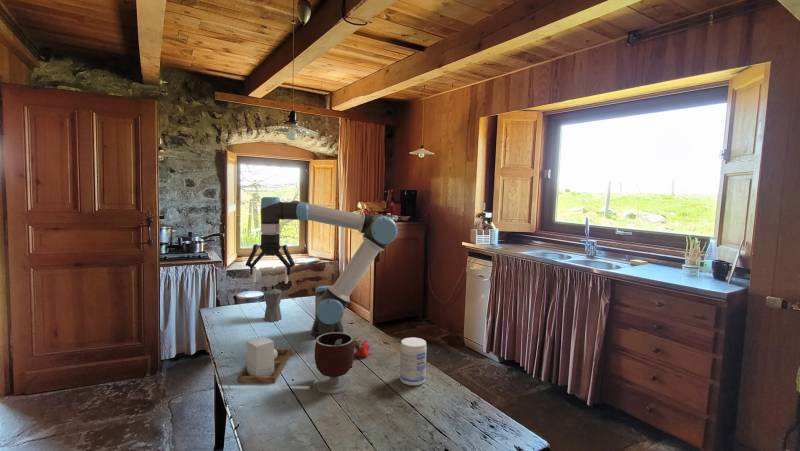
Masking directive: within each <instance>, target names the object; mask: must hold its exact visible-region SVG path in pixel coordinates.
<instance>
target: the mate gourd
mask: <svg viewBox="0 0 800 451" xmlns="http://www.w3.org/2000/svg"><path fill="white" fill-rule="evenodd" d="M351 335H352V334H348V333H346V332H345V333H344V332H343V333H339V332H333V333H326V334H323V335H320V336H319V337H316V339H315V344H314V345H315V346H314V362H315V367H316V369H317V370H318V371H319V372H320V374H321V375H323V376H324V377H322V378H321V379H319V380H318V381H317V382H316V388H317V390H318V392H320V393H323V394H328V395H337V394H342V393H345V392H347V391H349V390H350V389H351V387H352V380H351V379H350V378H348V377H346V376H344V375H346V374H347V373H349V371H350V370H351V368H352V367H353V364H354V360H355V356H354V354H355V348H354V342H353V337H352V336H351Z"/></svg>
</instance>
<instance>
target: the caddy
mask: <svg viewBox="0 0 800 451" xmlns="http://www.w3.org/2000/svg"><path fill="white" fill-rule="evenodd" d="M275 349H276V350H277V352H278V355H277V358H276V359H275V360H274V374H273V375H271V376H249V375H247V365H245V367H244V368H243V370H242V371H241V372H240V373H239V375H238V376H237V384H275V383H276V382H277V381H278V380H279V377H280V375H281V373H282V372H283V370H284V368H285V366H286V365H287V363H288V361H289V359H290V357H291V355H292V349H291V348H275Z"/></svg>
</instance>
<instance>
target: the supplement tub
mask: <svg viewBox="0 0 800 451" xmlns="http://www.w3.org/2000/svg"><path fill="white" fill-rule="evenodd" d="M399 359H400V360H399V361H400V362H399V364H400V365H399V380H400V382H402V384H405V385H407V386H419V385H422V384H423V383H425V381H426V373H427V372H426V369H427V341H426V340H424V339H423V338H419V337H405V338H403V339H402V340H401V341H400V357H399Z"/></svg>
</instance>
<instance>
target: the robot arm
mask: <svg viewBox="0 0 800 451" xmlns="http://www.w3.org/2000/svg"><path fill="white" fill-rule="evenodd" d="M280 220H292V221H293V220H296V221H303V220H307V221H312V222H316V223H322V224H326V225H331V226H335V227H341V228H346V229H351V230H356V231H358V232H359V233H360V234H363V235H362V239H363V241H362V242H361V244H360V245H359V246H358V248H357V250H356V251H355V253H354V254H353V255H352V257H351V259H350V260H349V262H347V265H346V266H345V267H344V269H343V271H342V272H341V273H340V275H339V276H338V278H337V279H336V281H335V282H334V284H333V285H319V286H317V287H315V292H314V294H315V310H314V314H315V316H314V321H313V323H312V327H311V333H310V334H311V336H312V337H314V338H317V337H319V336H320V335H323V334H326V333H333V332H339V333H344V326H343V322H342V318H343V317H344V314H345V310H346V308H347V307H348V305H349V303H350V302H351V299H350V296H351V294H352V293H353V291H354V290H355V288H356V286H357V285H358V284H359V283H360V281H361V280H362V278H363V276H364V275H365V273H366V272H367V271H368V269H369V267H370V266H371V264H372V263H373V261H374V260H375V259H376V257H377V255H379V253H380V252H383V251H385V249H386V248H387V247H388V245H389V244H390V243H392V242H394V240H395V239H396V238H397V235H398V226H397V223H396V222H395V220H393V218H390V217H389V216H388V215H387V216H385V215H383V214H373V213H372V214H371V213H370V214H369V213H365V212H363V213H361V214H360V213H355V212H350V211H347V210H346V211H345V210H341V209H336V208H332V207H326V206H322V205H317V204H312V203H308V202H303V201H299V200H291V201H281V200H280V197H277V196H263V197H262V198H261V200H260V233H261V234H260V244H257V243H256V244H254V245H252V251H251V252H250V255H249V257H248V258H247V260H246V263H245V267H249V268H250V269H249V270H250V272H249V274H250V276H252V284H255V283H257V266H256V265H257V264H258V263H259V261H260V260H261V259H262V258H263V257H264V256H276V257H277V258H278V259H279V260H280V262H281V263H282V264H283V266H285V268H284V284H286V285H287V284H288V283H289V276H290V275H291V270H292V269H291V268H293V267H295V266H296V263H295V261H294V259H293V257H292V255H291V254H290V252H289V249H288V245H287V244H283V245H281V243H280V242H281V241H280V238H281V236H280V235H281V234H279V233H280V230H281V229H280V226H281V225H280ZM259 249H260V250H261V252H260V253H259V254H258V256H257V257H256V258H255V255H256V254H257V252H258V250H259ZM280 249H281V251H283V253H284V255H285V256H284V255H283V254H282V253H281V251H280ZM285 257H286V258H285ZM254 258H255V259H254ZM253 259H254V260H253Z"/></svg>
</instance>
